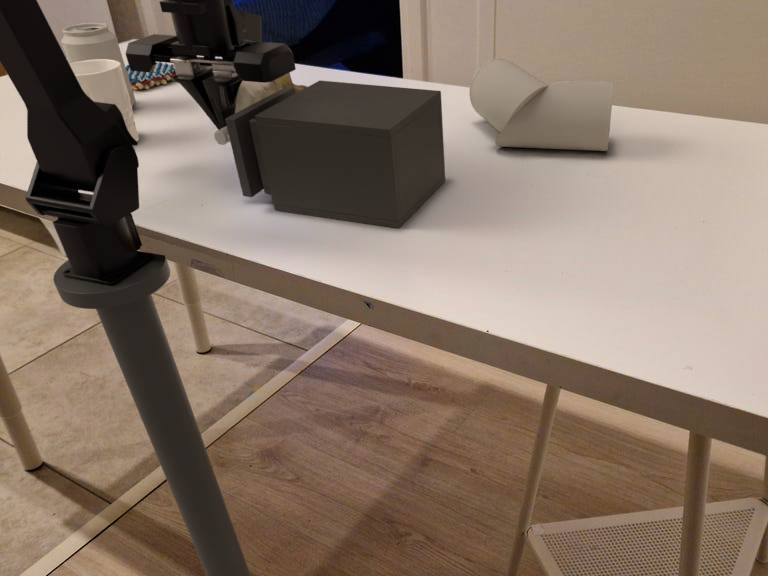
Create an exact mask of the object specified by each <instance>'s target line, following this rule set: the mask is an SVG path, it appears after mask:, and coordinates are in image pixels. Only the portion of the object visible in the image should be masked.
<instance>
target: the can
mask: <svg viewBox="0 0 768 576" xmlns="http://www.w3.org/2000/svg"><path fill="white" fill-rule="evenodd" d="M61 32H63V36H62V38H61V40H60V42H61V45H62V49H63V52H64V54H65V56H66V58H67V60H68V62H69V64H70V63H74V62H79V61H85V60H96V59H109V60H115V61H118V62H120V63H121V67H122V71H123V75H124V79H125V82H126V86H127V90H128V93H129V97H130V103H131V106H132V107H133V106H134V105H135V103H136V101H137V100H136V97H135V94H134V91H133V90H134V89H132V87H131V84H130V80H129V77H128V74H127V71H126V64H125V61H124V58H123V55H122V51H121V48H120V45H119V41H118V38H117V35H116V34H114V32H112V31H111V30H109V25H108V24H107V23H103V22H83V23H76V24H72V25H68V26H65V27H62V29H61Z"/></svg>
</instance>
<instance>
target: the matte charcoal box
mask: <svg viewBox="0 0 768 576" xmlns="http://www.w3.org/2000/svg"><path fill="white" fill-rule="evenodd" d="M442 107H443V106H442V91H441V90H435V89H434V90H433V89H424V88H423V89H422V88H411V87H401V86H400V87H399V86H387V85H376V84H365V83H352V82H341V81H331V80H318V81H316V82H314V83H312V84H310V85H308V86H307V88H305V89H303V90H301V91H299V92H297V93H296V94H294V95H292V96H290V97H288V98H286V99H285V100H283V101H281V102H279V103H277V104H275V105H274V106H272V107H270V108H268V109H266V110H264V111H263V112H261V113H259V114H257V115H255V118H256V123H257V128H258V132H259V137H260V142H261V147H262V152H263V156H264V161H265V166H266V171H267V175H268V180H269V185H270V190H271V194H272V195H271V199H272V203H273V207H274V211H277V212H286V213H291V214H300V215H305V216H306V215H307V216H314V217H319V218H326V219H331V220H339V221H346V222H347V221H348V222H352V223H353V222H354V223H359V224H368V225H375V226H381V227H389V228H394V229H400V228H401V227H402V226H403V225H404V224H405V223H406V222H407V221H408V220H409V219H410V218H411V217H412V216H413V215H414V214H415V213H416V212H417V211H418V210H419V209H420V208H421V207H422V206H423V204H425V203H426V201H428V199H429V198H430V197H432V195H433V194H434V193H435V192H436V191H437V190H439V188H440V187H441V186H443V184H444V183H445V182H446V166H445V165H446V164H445V150H444V149H445V145H444V144H445V143H444V127H443V108H442Z"/></svg>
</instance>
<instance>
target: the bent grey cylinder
mask: <svg viewBox="0 0 768 576" xmlns="http://www.w3.org/2000/svg"><path fill="white" fill-rule="evenodd" d="M472 76H473V77H472V79H471V81H470V84H469V100H470V103H471V104H470V105H471V106H472V108H473V110H474V111H475V112H476V113H477V115H479V117H481V118H483V120H485V121H486V122H487V123H488V124H489V125H490V126H492V127H493V128H495V129H496V130H497V131H498V132H499V135H498V136H497V137H496V139H495V146H496V147H503V148H523V149H524V148H526V149H546V150H547V149H548V150H550V149H551V150H569V151H571V150H572V151H573V150H574V151H592V152H594V151H597V152H608V150H609V149H608V148H609V142H610V141H609V139H610V130H611V120H612V111H613V97H614V89H615V88H614V86H615V81H614V80H613V81H612V80H611V81H609V80H580V79H579V80H577V79H575V80H574V79H560V80H557V81H555V82H553V83H552V84H550V85H549V84H548V83H546V82H545V81H543V80H542V79H540V78H538V77H536V76H535V75H534V74H532V73H530V72H529V71H527V70H525V69H524V68H523V67H521V66H519V65H517V64H516V63H514V61H511V60H509V59H506V58H493V59H490V60H488V61H485V62H484V63H483V64H482V65H480V67H478V69H477V70H476V71H475V73H474V75H472Z"/></svg>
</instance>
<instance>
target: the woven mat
mask: <svg viewBox="0 0 768 576" xmlns="http://www.w3.org/2000/svg"><path fill="white" fill-rule="evenodd" d="M125 67H126V71H127V74H128V77H129V80H130V84H131V87H132V90H135V91H137V90H142V89H145V90H149V89H150V88H151V87H154V86H155V85H156V86H160V85H167V83H168V82H167V81H171V82H174V81H173V78H172V77H173V76H175V75H176V71H175V67H174V64H173V63H170V64H169V63H166V62H156V65H155V67H154V69H153V71H152V72H139V71H131V70H130V67H129V64H127V65H125Z"/></svg>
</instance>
